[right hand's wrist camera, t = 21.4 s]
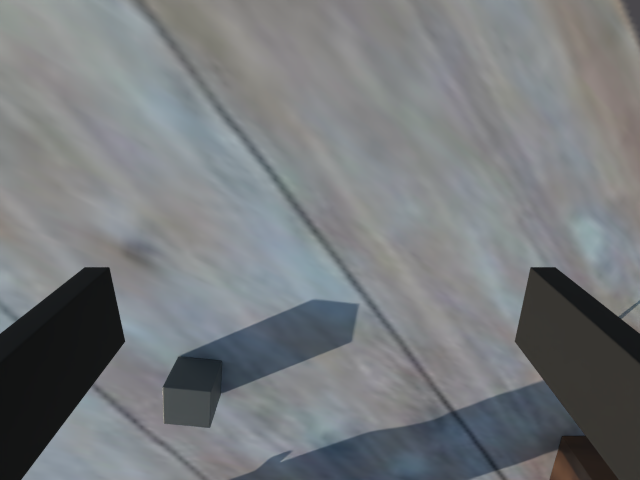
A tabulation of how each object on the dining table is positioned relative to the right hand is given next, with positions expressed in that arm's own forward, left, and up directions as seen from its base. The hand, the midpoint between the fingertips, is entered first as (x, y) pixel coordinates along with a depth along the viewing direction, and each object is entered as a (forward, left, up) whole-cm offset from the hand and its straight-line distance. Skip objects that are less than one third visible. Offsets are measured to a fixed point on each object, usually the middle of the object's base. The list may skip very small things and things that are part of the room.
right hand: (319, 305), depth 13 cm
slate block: (+29, -1, -27) cm, 39 cm away
